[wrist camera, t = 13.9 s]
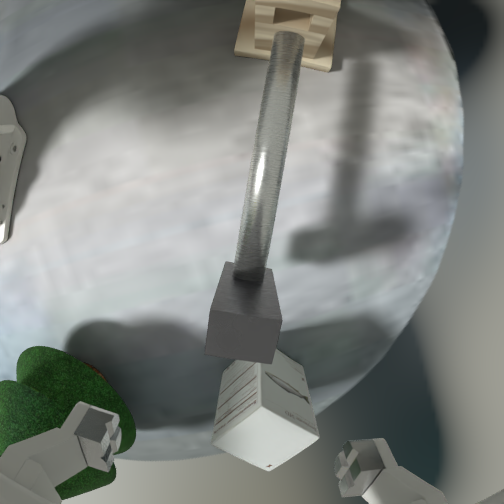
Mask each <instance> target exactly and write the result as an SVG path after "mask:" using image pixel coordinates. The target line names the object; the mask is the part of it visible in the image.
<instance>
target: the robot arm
mask: <svg viewBox="0 0 504 504" xmlns="http://www.w3.org/2000/svg"><path fill="white" fill-rule="evenodd" d="M25 144H26V133H25V131H24V130H23V129H22V127H21V126H20V125H19V124H18V122H17V119H16V114H15V110H14V107H13V105H12V103H11V101H10V100H9V99H8V98H7V97H5V96H3V95H0V245H2V244H3V243H4V242H6V241H7V239H8V233H9V225H10V217H11V210H12V204H13V198H14V192H15V187H16V182H17V177H18V172H19V168H20V164H21V159H22V155H23V151H24V148H25ZM16 147H17V150H16ZM119 421H120V420H119V415H118V414H116V413H113V412H110V411H107V410H104V409H101V408H98V407H95V406H92V405H89V404H86V403H84V402H81V401H80V402H78V403H77V404H76V405H75V407H74V408H73V410H72V411H71V413H70V414H69V416H68V418H67V419H66V421H65V422H64V424H63V425H62V427H61V428H60V429H59V428H54V429H52V430H49V431H47V432H44V433H42V434H39V435H36V436H34V437H31V438H28V439H26V440H23V441H20V442H18V443H15V444H12V445H9V446H8V447H7V449H6V450H5V451H4V453H3V454H2V456H1V457H0V504H61V502H62V500H61V498H60V496H59V494H58V493H57V491H56V490H55V488H54V487H56V486H57V485H59V484H61V483H62V482H64V481H66V480H67V479H69V478H70V477H72V476H74V475H75V474H77V473H78V472H80V471H82V470H83V469H85V468H86V467H87V466H90V467H93V468H96V469H99V470H102V471H105V472H109V471H110V469H111V466H112V464H113V461H114V457H113V453H115V452H117V451H118V449H119V447H120V443H121V434H122V433H121V428H120V427H119V426H118V423H119ZM342 448H343V452H341V453H339V454H338V456H337V458H336V460H335V465H334V468H335V474H336V476H337V477H338V478H339V479H341V481H340V482H339V484H338V485H339V488H340V492H341V496H342V497H351V496H360V495H362V497H363V498H364V499H365V500H366V501H367V502H369V504H448V502H447V500H446V498H445V497H444V494H443V493H442V492H441V491H440V490H438V489H436V488H435V487H433V486H432V485H430V484H428V483H426V482H425V481H423V480H422V479H420V478H419V477H417V476H415V475H414V474H412V473H411V472H409V471H408V470H406V469H405V468H403V467H401V466H400V467H398V465H397V463H396V461H395V459H394V457H393V455H392V453H391V451H390V449H389V447H388V445H387V443H386V441H385V439H383V438H380V439H379V438H378V439H365V440H352V441H347V442H345V443H344V445H343V447H342ZM476 504H504V489H502V490H501V491H499V492H497V493H495V494H493V495H491V496H490V497H488V498H486V499H484V500H482V501H480V502H478V503H476Z"/></svg>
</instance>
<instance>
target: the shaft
mask: <svg viewBox="0 0 504 504" xmlns="http://www.w3.org/2000/svg"><path fill="white" fill-rule="evenodd" d="M304 43H305V39H304V37H303V36H301V35H300V34H298V33H295V32H290V31H280V32H277V33H275V34H274V38H273V43H272V48H271V54H270V59H269V64H268V70H267V75H266V81H265V86H264V91H263V97H262V102H261V108H260V114H259V119H258V125H257V130H256V136H255V142H254V148H253V153H252V159H251V165H250V171H249V177H248V183H247V188H246V194H245V200H244V206H243V212H242V218H241V225H240V231H239V237H238V243H237V249H236V255H235V262H234V263H232V262H225V265H224V268H223V271H222V274H221V277H220V280H219V283H218V286H217V289H216V293H215V296H214V299H213V302H212V305H211V308H210V314H209V322H208V330H207V338H206V347H205V355H211V356H216V357H223V358H229V359H235V360H242V361H249V362H256V363H264V364H272V362H273V358H274V354H275V350H276V346H277V342H278V337H279V333H280V329H281V325H282V315H281V311H280V306H279V301H278V296H277V291H276V286H275V282H274V277H273V272H272V269H269V268H266V265H267V259H268V254H269V249H270V243H271V238H272V232H273V227H274V221H275V216H276V210H277V205H278V199H279V193H280V188H281V182H282V176H283V171H284V165H285V159H286V153H287V147H288V142H289V136H290V130H291V124H292V118H293V112H294V106H295V100H296V93H297V87H298V81H299V75H300V68H301V62H302V56H303V49H304Z"/></svg>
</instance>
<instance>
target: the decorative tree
mask: <svg viewBox="0 0 504 504" xmlns="http://www.w3.org/2000/svg"><path fill="white" fill-rule="evenodd" d="M80 401H81V402H84V403H86V404H89V405H92V406H95V407H98V408H101V409H104V410H107V411H110V412H113V413H116V414H118V415H119V420H120V421H119V423H118V426H119V427H120V428H121V433H122V434H121V443H120V447H119V449H118V451H117V452H115V453H113V455H116V454H120V453H123V452H125V451H127V450H128V449H129V448H130V447H131V446H132V445H133V443H134V441H135V438H136V428H135V423H134V420H133V417H132V415H131V413H130V411H129V409H128V408H127V406H126V404H125V403H124V401H123V400H122V399H121V397H120V396H119V395H118V394H117V392H116V391H115V390H114V389H113V388H112V387H111V386H110V385H109V384H108V382H107V381H106V379H105V377H104V376H103V375H102V374H101V373H100V372H99V371H98V370H97V369H96V368H94V367H93V366H91V365H89V364H87V363H84V362H81V361H80V360H78V359H76V358H75V357H73V356H71V355H69V354H67V353H65V352H63V351H60V350H57V349H54V348H50V347H45V346H35V347H31V348H28V349H26V350H25V351H24V352H22V354H21V355H20V357H19V359H18V362H17V382H16V381H11V380H4V381H1V382H0V457H1V456H2V454H3V453H4V451H5V450H6V449H7V447H8V446H9V445H12V444H15V443H18V442H20V441H23V440H26V439H28V438H31V437H34V436H36V435H39V434H42V433H44V432H47V431H49V430H52V429H54V428H59V429H60V428H61V427H62V425H63V424H64V422H65V421H66V419H67V418H68V416H69V414H70V413H71V411H72V410H73V408H74V407H75V405H76V404H77V403H78V402H80ZM115 478H116V468H115V465H114V462H113V464H112V466H111V469H110V471H109V472H105V471H102V470H99V469H96V468H93V467H90V466H87V467H86V468H85V469H83V470H82V471H80V472H78V473H77V474H75V475H74V476H72V477H70V478H69V479H67V480H66V481H64V482H62V483H61V484H59V485H57V486H56V487H54V488H55V490H56V491H57V493H58V494H59V496H60V498H61V500H64V499H68V498H71V497H74V496H77V495H80V494H83V493H86V492H89V491H92V490H95V489H97V488H100V487H103V486H106V485H108V484H110V483H112V482H113V481H114V479H115Z"/></svg>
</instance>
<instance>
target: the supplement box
mask: <svg viewBox="0 0 504 504" xmlns="http://www.w3.org/2000/svg"><path fill="white" fill-rule="evenodd" d="M319 437H320V436H319V432H318V428H317V424H316V419H315V415H314V411H313V406H312V402H311V398H310V393H309V389H308V385H307V381H306V377H305V373H304V368H303V366H301V365H300V364H298V363H297V362H295V361H293V360H292V359H290V358H289V357H287V356H286V355H285V354H283V353H282V352H280V351H279V350H278V349H276V350H275V354H274V358H273V362H272V364H264V363H256V362H249V361H242V360H235V361H234V362H233V363H232V364H231V365H230V366H229V367H228V368H227V369H225V370H224V372H223V374H222V380H221V385H220V391H219V397H218V403H217V410H216V416H215V422H214V428H213V434H212V439H211V444H212V445H213V446H215V447H217V448H219V449H221V450H223V451H225V452H227V453H229V454H231V455H233V456H235V457H237V458H240V459H241V460H243V461H246V462H248V463H250V464H253V465H255V466H257V467H260V468H262V469H264V470H266V471H270V470H272V469H274V468H276V467H277V466H279V465H281V464H282V463H284V462H285V461H287V460H289V459H290V458H292V457H293V456H294V455H296V454H298V453H299V452H301V451H302V450H303V449H305V448H306V447H308V446H309V445H311V444H312V443H313V442H315V441H316V440H317V439H319Z"/></svg>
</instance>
